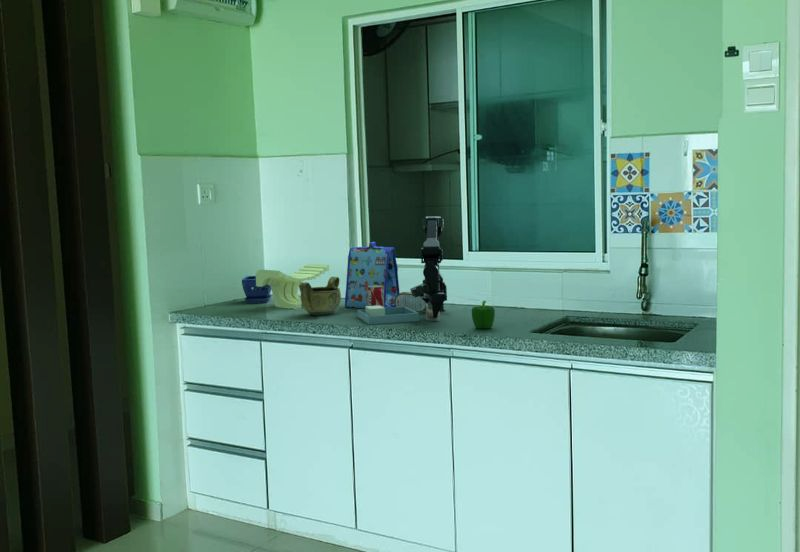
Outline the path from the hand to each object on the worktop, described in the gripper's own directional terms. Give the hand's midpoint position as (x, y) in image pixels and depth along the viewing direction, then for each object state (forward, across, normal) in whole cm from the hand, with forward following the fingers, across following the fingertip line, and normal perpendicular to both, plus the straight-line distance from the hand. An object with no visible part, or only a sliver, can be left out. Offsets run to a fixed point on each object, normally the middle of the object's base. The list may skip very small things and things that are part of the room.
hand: (432, 316), depth 323 cm
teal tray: (+2, -9, -16) cm, 18 cm away
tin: (+2, -26, -1) cm, 26 cm away
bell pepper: (+2, +24, +12) cm, 27 cm away
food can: (+2, 0, 0) cm, 2 cm away
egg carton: (+1, -9, -21) cm, 23 cm away
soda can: (+2, -25, -17) cm, 30 cm away
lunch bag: (+2, -48, -13) cm, 50 cm away
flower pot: (+2, -89, -59) cm, 107 cm away
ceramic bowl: (+2, -35, -38) cm, 52 cm away
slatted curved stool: (+2, -67, -45) cm, 81 cm away
